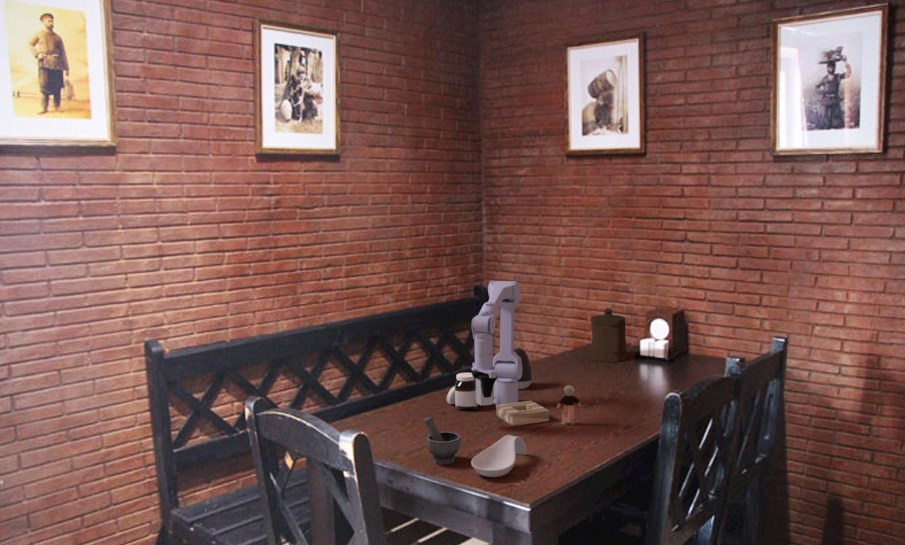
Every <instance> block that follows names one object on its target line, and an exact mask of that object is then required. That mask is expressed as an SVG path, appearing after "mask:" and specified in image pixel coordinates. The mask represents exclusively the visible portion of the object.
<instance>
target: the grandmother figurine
mask: <svg viewBox="0 0 905 545" xmlns="http://www.w3.org/2000/svg"><path fill="white" fill-rule="evenodd" d="M563 392H564V393H565V395H564V396H562V397H561V399H560V400H559V401H558V403H557V406H556V408H557V409H560V408H561V407H562V405H563V407H562V416H561V417H562V418H561V419H562V421H561V424H560V425H561V426H567V425H571V426H574V425H576V422H575V404H576V405H577V407H579V408H581V407H582V404H581V401H580V399H579V398H578V397H576V396H574V393H575V388H574V386H572V385H570V384H567V385H565V386H564V388H563Z"/></svg>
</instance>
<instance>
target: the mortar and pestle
mask: <svg viewBox="0 0 905 545" xmlns="http://www.w3.org/2000/svg"><path fill="white" fill-rule="evenodd" d="M423 424H425V426H426V429H427V431H428V433H429V434H428V435H427V436H426V437H425V443H426V448H427V450H428V452H429V453H430V454H431V455H432V456H433V458H432V462H433V461H434V462H433V463H434V464H436V463H439V464H438V465H450V464H453V463H455V461H456V454H457V453H458V452H459V449H460V448H461V443H462V435H460V434H459V433H458V432H452V431H439V429H438V427H437V425H436V424H435V421H434V418H433V417H432V416H429V417H426V418H425V419H424V420H423ZM449 463H450V464H449Z"/></svg>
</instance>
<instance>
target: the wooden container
mask: <svg viewBox="0 0 905 545" xmlns="http://www.w3.org/2000/svg"><path fill="white" fill-rule="evenodd" d="M590 319H591V320H590V329H591V330H590V358H591V360H593V361H596V362H600V363H601V362H602V363H617V362H623V361H625V360H627V359H626V358H627V351H626V350H627V342H626V341H627V340H626V338H627V337H626V317H625V316H622V315H617V314H615V315H614V314H613V309H612V308H605V309H604V314H597V315H592V316H591V317H590Z"/></svg>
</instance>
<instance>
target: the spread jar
mask: <svg viewBox="0 0 905 545" xmlns="http://www.w3.org/2000/svg"><path fill="white" fill-rule="evenodd" d="M446 402H447V403H448V404H450V405H452V404H453V405H455V408H456V409H458V410H460V411H473V410H476V409H478V407H479V404H478V403H476V382H475V380H474V377H473V375H472V372H460V373H457V374H456V381H455V385H454V386H452V387H451V388H450V389H449V391H448V393H447V395H446Z"/></svg>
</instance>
